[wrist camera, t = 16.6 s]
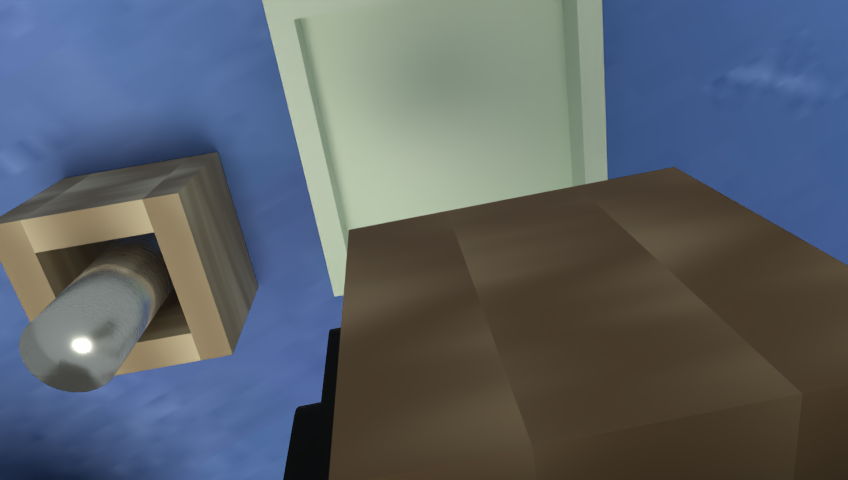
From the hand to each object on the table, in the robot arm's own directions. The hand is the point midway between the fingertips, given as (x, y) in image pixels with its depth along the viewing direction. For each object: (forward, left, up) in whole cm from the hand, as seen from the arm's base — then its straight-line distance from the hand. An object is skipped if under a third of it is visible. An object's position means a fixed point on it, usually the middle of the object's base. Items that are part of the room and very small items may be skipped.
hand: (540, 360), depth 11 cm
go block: (+13, +2, -18) cm, 22 cm away
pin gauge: (+13, +2, -18) cm, 22 cm away
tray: (-1, -1, -18) cm, 18 cm away
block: (0, 0, -1) cm, 1 cm away
